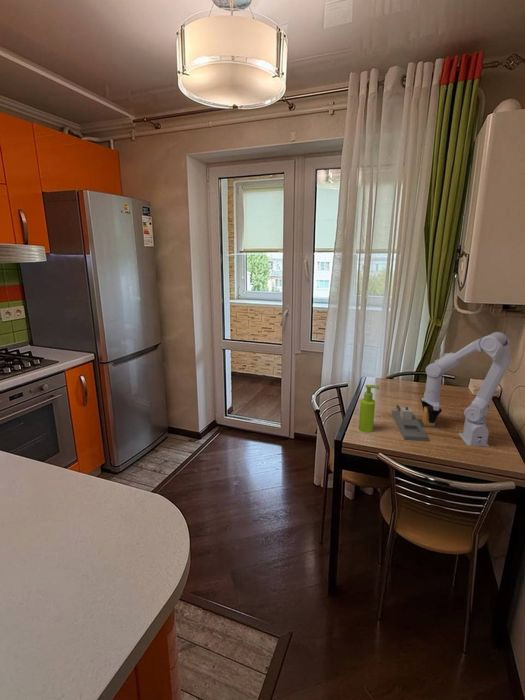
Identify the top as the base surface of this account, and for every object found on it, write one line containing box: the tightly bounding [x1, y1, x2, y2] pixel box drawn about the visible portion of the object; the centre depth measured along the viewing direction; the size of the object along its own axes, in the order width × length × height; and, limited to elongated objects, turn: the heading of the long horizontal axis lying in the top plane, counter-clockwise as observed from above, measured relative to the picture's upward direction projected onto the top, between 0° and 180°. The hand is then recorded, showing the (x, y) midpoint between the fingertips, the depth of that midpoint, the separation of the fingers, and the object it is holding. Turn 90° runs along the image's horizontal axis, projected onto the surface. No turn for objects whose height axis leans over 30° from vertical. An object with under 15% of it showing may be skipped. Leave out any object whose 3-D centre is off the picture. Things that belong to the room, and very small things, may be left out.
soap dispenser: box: [358, 384, 380, 434], centre depth 155 cm, size 6×7×20 cm
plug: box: [421, 406, 435, 426], centre depth 161 cm, size 4×4×8 cm
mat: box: [416, 418, 442, 429], centre depth 162 cm, size 8×8×1 cm
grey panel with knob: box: [391, 404, 429, 442], centre depth 162 cm, size 32×9×7 cm, turn 173°
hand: (428, 418), depth 162 cm, fingers open, 7 cm apart
